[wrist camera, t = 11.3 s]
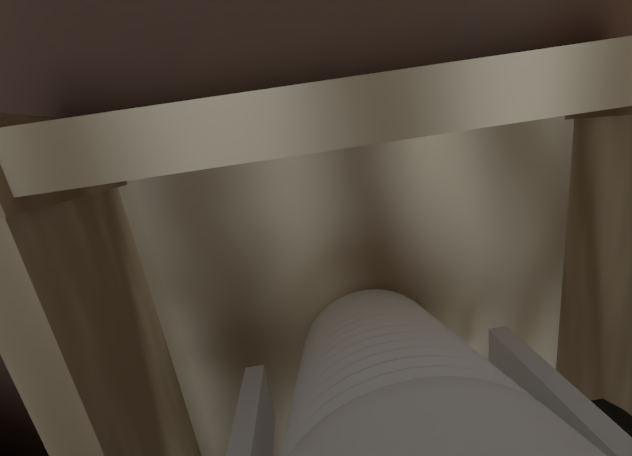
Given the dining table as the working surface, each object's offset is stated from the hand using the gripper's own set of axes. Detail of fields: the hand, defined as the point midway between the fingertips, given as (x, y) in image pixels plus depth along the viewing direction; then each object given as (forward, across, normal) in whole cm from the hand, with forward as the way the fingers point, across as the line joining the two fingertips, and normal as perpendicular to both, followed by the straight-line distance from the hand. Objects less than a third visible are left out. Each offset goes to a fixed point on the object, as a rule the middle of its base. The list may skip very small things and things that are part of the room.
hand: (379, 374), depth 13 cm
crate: (+3, 0, 0) cm, 3 cm away
